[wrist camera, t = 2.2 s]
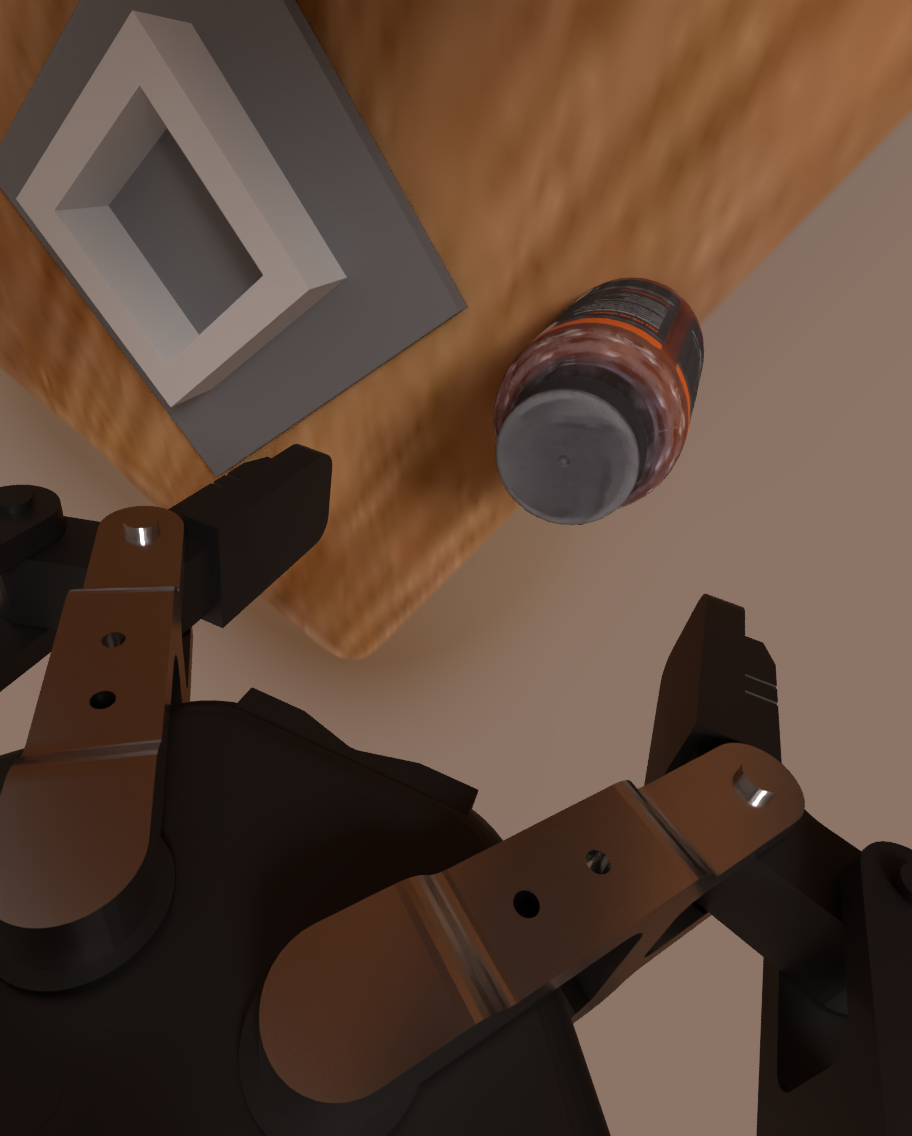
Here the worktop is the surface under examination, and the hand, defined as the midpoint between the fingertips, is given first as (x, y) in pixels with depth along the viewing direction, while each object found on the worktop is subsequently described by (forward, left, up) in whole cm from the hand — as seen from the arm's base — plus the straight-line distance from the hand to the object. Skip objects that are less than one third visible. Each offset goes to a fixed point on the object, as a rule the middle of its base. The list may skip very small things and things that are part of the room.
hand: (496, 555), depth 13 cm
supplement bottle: (0, 0, -17) cm, 17 cm away
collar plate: (+14, -14, -17) cm, 26 cm away
